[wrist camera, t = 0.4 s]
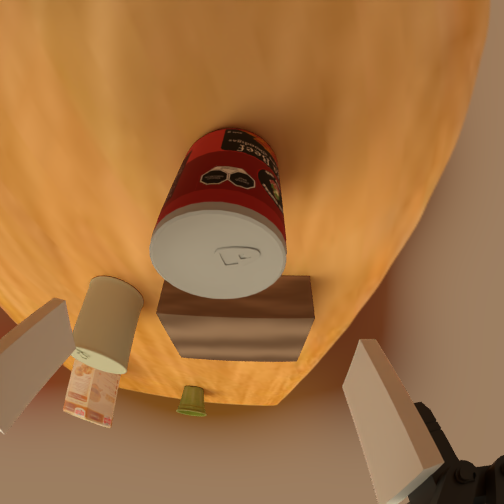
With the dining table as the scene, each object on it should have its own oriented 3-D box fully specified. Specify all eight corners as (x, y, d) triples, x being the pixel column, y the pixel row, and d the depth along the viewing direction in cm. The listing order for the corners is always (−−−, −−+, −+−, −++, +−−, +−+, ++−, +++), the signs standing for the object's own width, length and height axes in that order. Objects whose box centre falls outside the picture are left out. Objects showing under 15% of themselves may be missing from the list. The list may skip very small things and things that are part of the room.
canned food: (292, 178, 24) (308, 278, 16) (218, 212, 27) (203, 311, 19) (248, 107, 19) (239, 182, 12) (168, 155, 22) (122, 246, 15)
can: (115, 269, 34) (88, 349, 26) (155, 305, 40) (139, 378, 32) (79, 282, 37) (54, 350, 29) (117, 312, 43) (100, 376, 35)
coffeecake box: (79, 338, 55) (61, 410, 42) (103, 343, 55) (86, 419, 42) (102, 360, 66) (89, 422, 53) (123, 365, 66) (112, 429, 53)
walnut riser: (166, 272, 34) (156, 313, 30) (309, 275, 34) (314, 318, 30) (186, 324, 44) (181, 357, 40) (294, 327, 44) (296, 361, 40)
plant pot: (173, 386, 78) (170, 411, 72) (188, 382, 73) (185, 409, 67) (198, 392, 82) (195, 416, 76) (214, 389, 77) (212, 415, 71)
